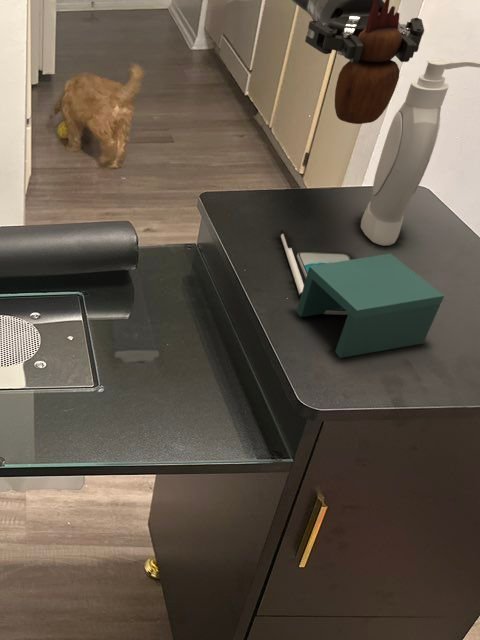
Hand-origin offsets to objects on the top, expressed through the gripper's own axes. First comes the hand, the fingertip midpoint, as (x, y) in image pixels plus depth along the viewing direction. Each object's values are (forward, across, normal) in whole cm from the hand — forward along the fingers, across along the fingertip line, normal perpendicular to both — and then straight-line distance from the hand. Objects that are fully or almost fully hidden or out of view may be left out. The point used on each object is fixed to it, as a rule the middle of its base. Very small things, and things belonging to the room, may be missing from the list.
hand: (383, 53), depth 87 cm
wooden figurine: (-3, 0, +9) cm, 10 cm away
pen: (+4, -5, +28) cm, 28 cm away
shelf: (+18, 0, +28) cm, 33 cm away
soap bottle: (-7, +11, +28) cm, 31 cm away
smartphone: (+8, 0, +28) cm, 29 cm away
